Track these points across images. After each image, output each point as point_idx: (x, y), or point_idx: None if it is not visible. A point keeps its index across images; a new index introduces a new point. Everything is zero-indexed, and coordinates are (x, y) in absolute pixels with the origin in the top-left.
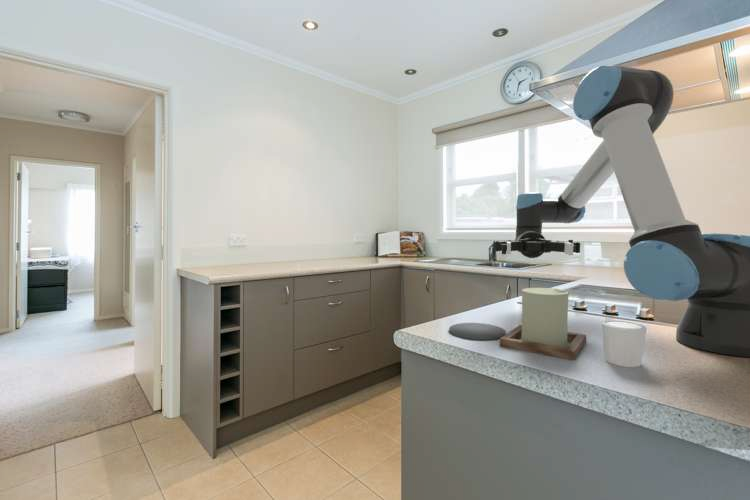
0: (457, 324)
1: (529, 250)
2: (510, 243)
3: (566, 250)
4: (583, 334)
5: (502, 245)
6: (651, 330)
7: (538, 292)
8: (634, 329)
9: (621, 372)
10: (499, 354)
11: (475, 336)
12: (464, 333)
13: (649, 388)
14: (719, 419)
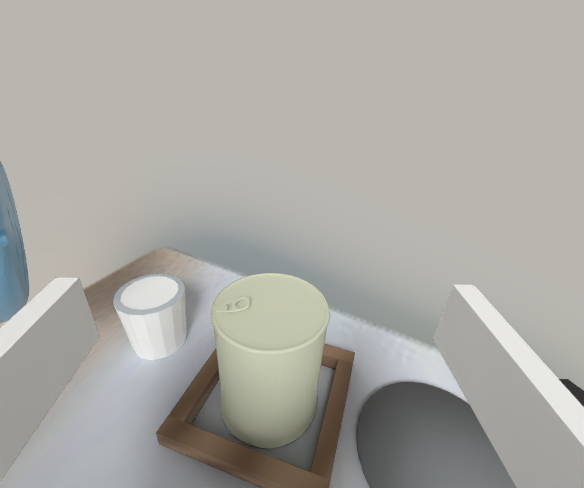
0: None
1: None
2: (454, 288)
3: (11, 427)
4: (163, 432)
5: (578, 395)
6: None
7: (289, 292)
8: (153, 274)
9: (190, 305)
10: (345, 326)
11: (411, 387)
12: (444, 403)
13: (187, 277)
14: (170, 248)
